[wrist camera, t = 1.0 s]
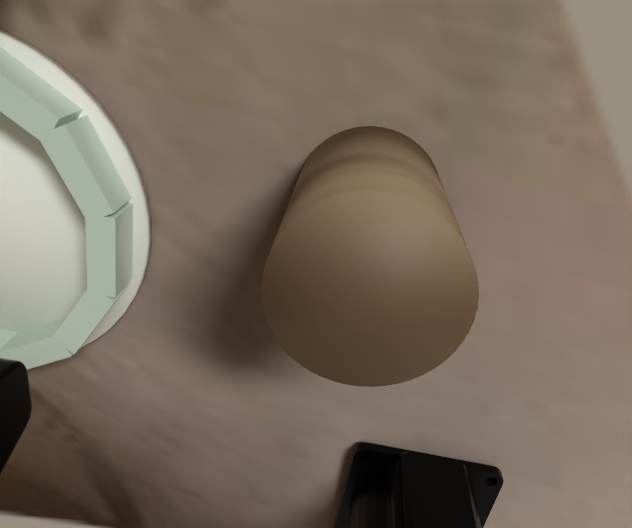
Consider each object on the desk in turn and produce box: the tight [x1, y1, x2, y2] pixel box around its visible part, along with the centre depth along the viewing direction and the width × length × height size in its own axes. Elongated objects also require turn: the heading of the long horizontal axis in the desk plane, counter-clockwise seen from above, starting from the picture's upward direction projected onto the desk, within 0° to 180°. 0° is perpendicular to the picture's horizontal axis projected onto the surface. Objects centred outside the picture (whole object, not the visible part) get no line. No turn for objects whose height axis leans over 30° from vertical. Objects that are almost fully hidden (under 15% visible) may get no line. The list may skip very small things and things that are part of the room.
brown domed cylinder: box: [261, 126, 479, 387], centre depth 16 cm, size 5×5×7 cm
